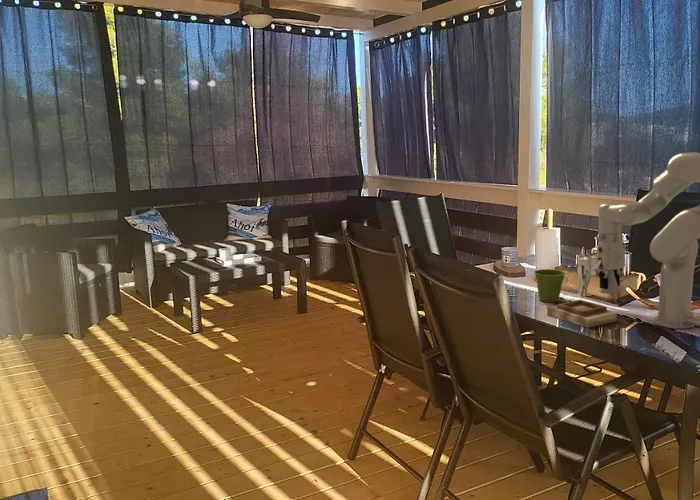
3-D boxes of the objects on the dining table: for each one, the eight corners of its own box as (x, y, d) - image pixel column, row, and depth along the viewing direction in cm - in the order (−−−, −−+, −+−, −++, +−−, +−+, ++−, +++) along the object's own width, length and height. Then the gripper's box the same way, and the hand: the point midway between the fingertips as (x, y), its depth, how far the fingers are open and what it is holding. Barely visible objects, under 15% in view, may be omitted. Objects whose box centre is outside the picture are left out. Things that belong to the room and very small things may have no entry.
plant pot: (571, 303, 233) (572, 274, 231) (542, 305, 231) (543, 276, 229) (554, 295, 245) (555, 268, 243) (527, 297, 242) (528, 270, 240)
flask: (599, 294, 220) (599, 267, 218) (597, 290, 226) (598, 263, 225) (621, 294, 217) (621, 266, 216) (619, 290, 224) (619, 263, 223)
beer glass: (597, 296, 241) (599, 259, 238) (580, 297, 241) (581, 260, 238) (591, 292, 248) (592, 256, 245) (574, 292, 248) (575, 256, 245)
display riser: (616, 321, 209) (617, 308, 209) (587, 327, 203) (588, 314, 202) (575, 309, 225) (575, 297, 224) (547, 314, 219) (547, 302, 218)
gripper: (601, 241, 212) (601, 292, 215) (635, 236, 220) (634, 285, 222) (584, 239, 218) (584, 289, 221) (617, 234, 226) (617, 282, 229)
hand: (609, 286), depth 222 cm, fingers closed on flask, 5 cm apart
